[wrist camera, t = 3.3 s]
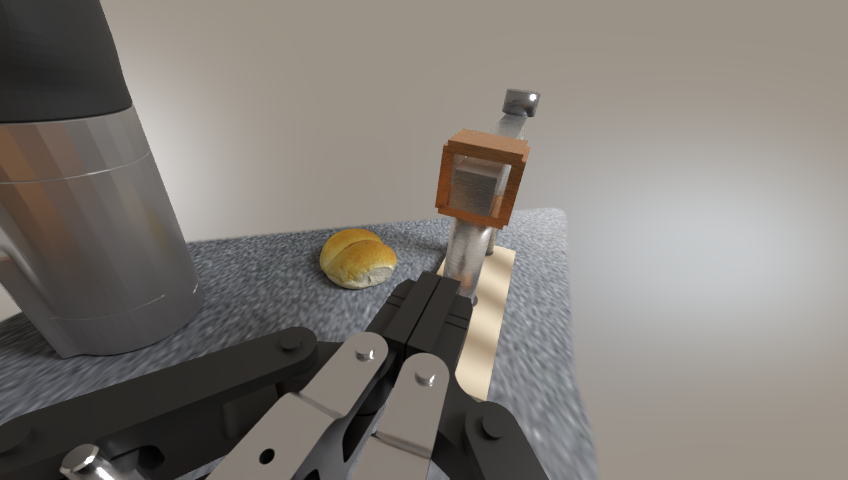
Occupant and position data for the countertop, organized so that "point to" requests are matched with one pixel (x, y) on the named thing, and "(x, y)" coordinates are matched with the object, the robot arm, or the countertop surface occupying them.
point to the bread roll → (357, 259)
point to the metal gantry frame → (487, 178)
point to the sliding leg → (468, 227)
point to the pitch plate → (484, 323)
